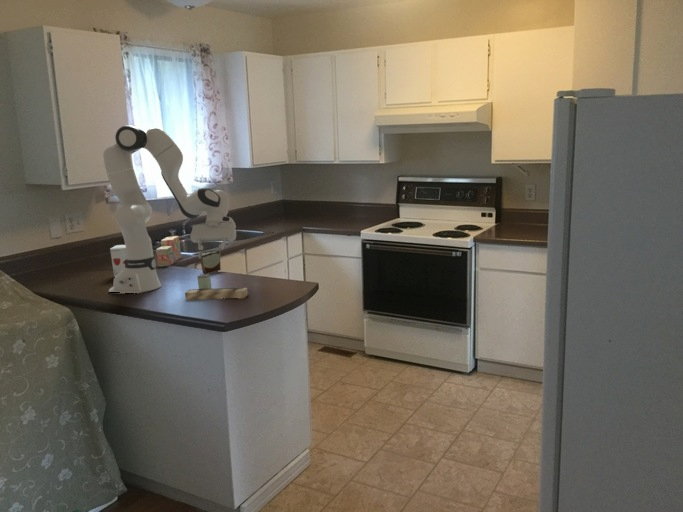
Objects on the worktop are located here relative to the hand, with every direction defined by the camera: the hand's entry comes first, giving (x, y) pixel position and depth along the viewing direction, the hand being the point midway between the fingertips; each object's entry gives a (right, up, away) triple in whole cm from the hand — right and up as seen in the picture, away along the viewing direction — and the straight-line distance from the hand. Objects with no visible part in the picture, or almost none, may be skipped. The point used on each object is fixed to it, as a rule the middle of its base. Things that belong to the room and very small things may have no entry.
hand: (210, 249), depth 262 cm
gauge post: (0, -19, -7) cm, 20 cm away
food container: (-8, -11, +33) cm, 35 cm away
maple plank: (+6, -20, -14) cm, 25 cm away
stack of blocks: (-35, -6, +62) cm, 72 cm away
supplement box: (-50, -13, +36) cm, 63 cm away
